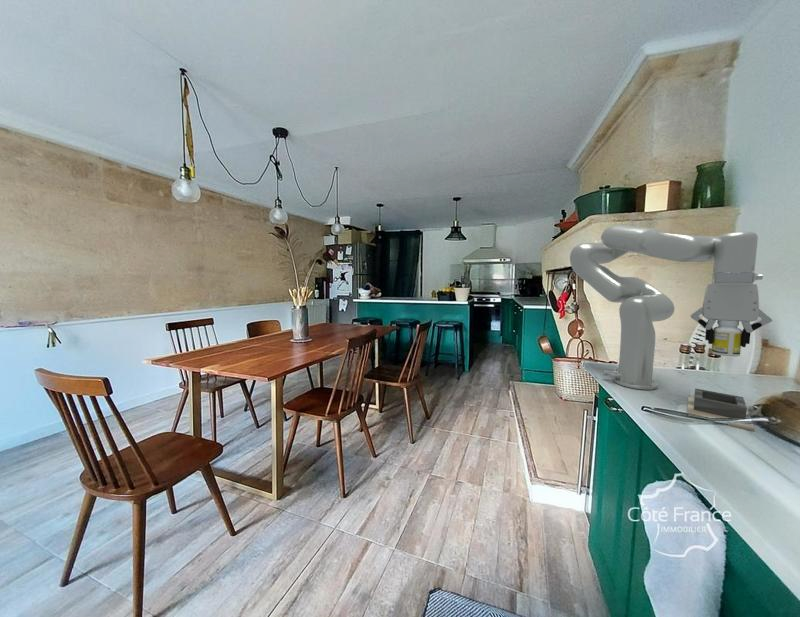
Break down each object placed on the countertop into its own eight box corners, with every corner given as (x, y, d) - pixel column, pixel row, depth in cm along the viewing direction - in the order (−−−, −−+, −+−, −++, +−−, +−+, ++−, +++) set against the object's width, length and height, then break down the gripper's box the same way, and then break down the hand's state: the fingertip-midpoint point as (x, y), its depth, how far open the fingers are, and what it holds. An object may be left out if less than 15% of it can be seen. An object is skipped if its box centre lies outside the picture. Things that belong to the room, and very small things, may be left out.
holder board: (754, 431, 73) (756, 414, 73) (686, 415, 82) (688, 400, 81) (746, 410, 84) (748, 394, 84) (688, 398, 93) (689, 384, 92)
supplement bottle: (735, 353, 83) (738, 319, 82) (743, 358, 78) (747, 321, 77) (708, 351, 86) (711, 318, 85) (715, 355, 81) (718, 320, 80)
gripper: (779, 278, 77) (771, 346, 79) (687, 279, 89) (683, 338, 90) (787, 279, 71) (779, 352, 73) (688, 279, 83) (683, 342, 85)
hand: (726, 343), depth 82 cm, fingers closed on supplement bottle, 5 cm apart
